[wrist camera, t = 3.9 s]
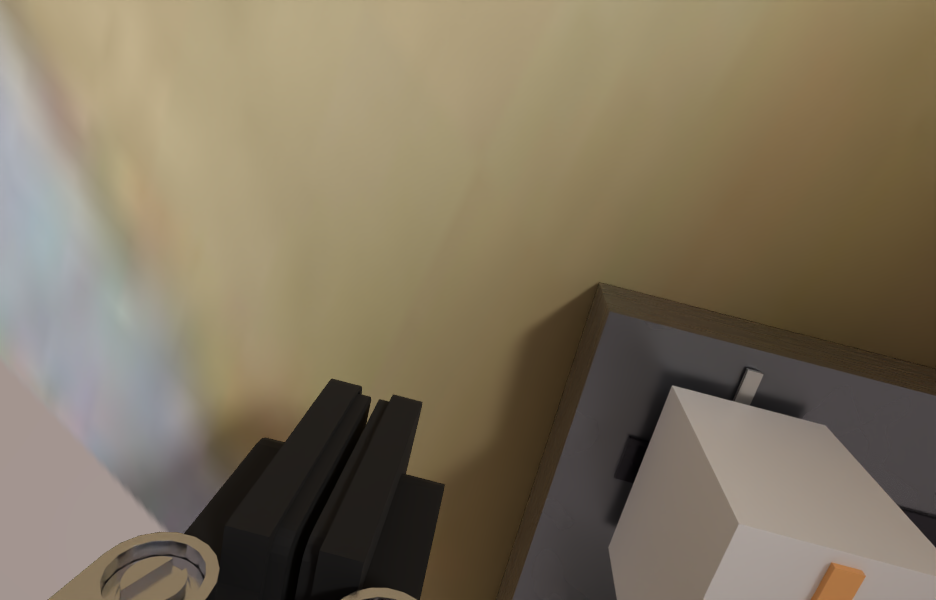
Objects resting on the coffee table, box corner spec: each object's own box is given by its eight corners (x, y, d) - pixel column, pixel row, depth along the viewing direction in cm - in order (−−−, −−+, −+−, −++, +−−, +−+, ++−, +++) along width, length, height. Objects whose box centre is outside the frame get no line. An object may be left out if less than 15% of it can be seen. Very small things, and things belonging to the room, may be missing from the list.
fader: (671, 385, 11) (742, 529, 8) (825, 425, 11) (975, 591, 8) (608, 547, 13) (640, 740, 9) (745, 584, 13) (837, 795, 9)
